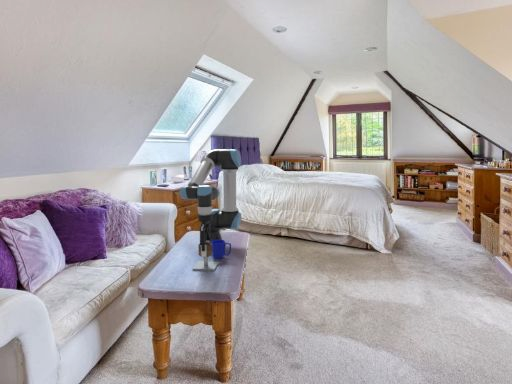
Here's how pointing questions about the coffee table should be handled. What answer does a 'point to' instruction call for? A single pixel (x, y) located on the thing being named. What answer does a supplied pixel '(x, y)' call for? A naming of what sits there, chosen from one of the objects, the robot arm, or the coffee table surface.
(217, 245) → the mug
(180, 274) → the coffee table surface
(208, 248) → the ring
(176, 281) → the coffee table surface
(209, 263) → the square plate with peg
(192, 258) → the coffee table surface
